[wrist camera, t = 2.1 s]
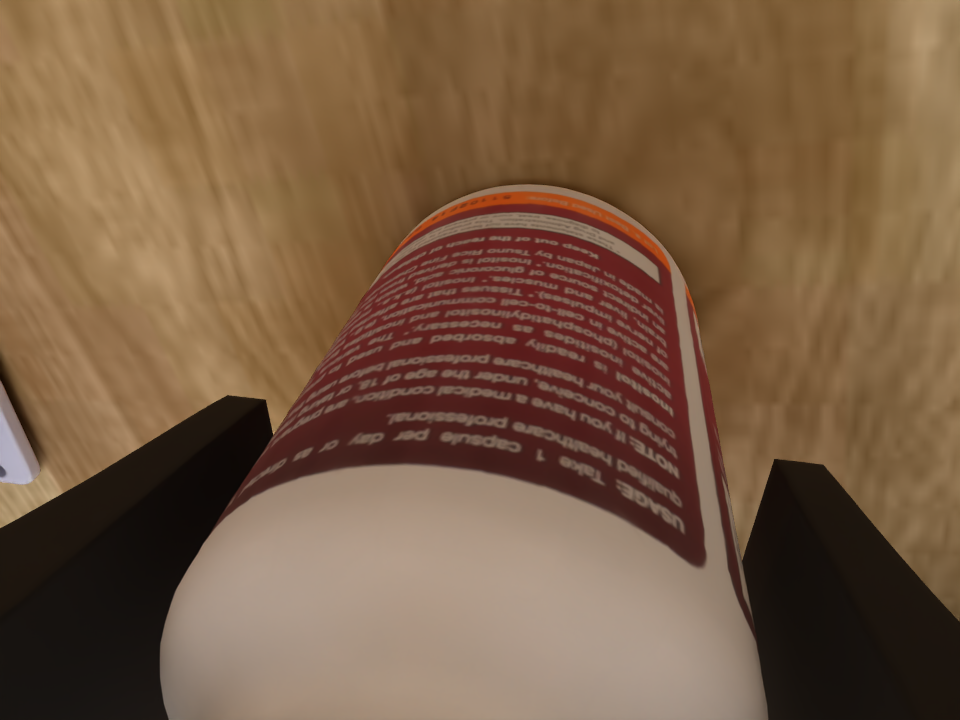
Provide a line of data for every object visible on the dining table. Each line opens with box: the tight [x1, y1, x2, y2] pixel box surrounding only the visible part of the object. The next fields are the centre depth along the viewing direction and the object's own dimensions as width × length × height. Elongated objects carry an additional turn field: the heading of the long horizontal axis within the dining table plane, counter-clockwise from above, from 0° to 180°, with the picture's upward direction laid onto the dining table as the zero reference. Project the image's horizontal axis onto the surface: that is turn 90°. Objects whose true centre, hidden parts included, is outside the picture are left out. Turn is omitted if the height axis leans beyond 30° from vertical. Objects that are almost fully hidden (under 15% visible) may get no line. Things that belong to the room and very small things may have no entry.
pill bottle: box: [160, 184, 768, 720], centre depth 9 cm, size 6×6×11 cm
